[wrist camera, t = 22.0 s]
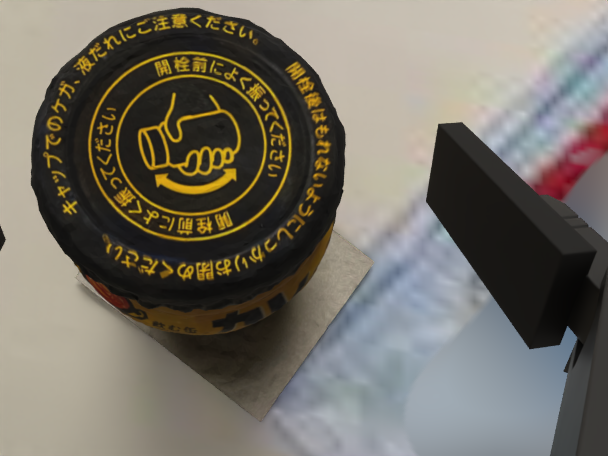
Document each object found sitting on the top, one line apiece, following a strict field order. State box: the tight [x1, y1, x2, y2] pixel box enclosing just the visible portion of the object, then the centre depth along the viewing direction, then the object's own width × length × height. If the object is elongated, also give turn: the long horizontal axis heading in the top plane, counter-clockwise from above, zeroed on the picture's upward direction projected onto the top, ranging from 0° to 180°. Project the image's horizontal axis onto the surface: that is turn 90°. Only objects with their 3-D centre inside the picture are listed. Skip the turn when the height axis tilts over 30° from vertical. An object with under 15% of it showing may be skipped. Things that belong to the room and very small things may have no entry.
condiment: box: [31, 8, 374, 422], centre depth 14 cm, size 7×8×12 cm
